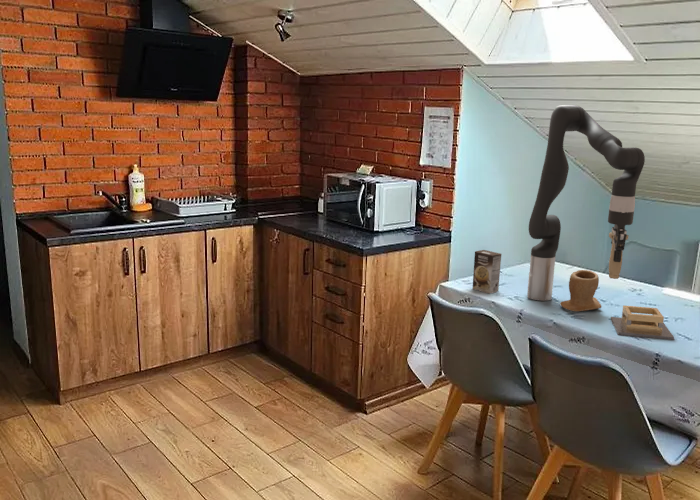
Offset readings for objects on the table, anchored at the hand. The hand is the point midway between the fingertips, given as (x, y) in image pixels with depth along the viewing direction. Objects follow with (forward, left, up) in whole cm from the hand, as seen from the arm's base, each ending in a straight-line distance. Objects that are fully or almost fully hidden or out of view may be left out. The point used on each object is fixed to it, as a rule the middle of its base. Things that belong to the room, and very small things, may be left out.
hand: (615, 259), depth 204 cm
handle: (0, 0, -6) cm, 6 cm away
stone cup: (-6, +20, -25) cm, 32 cm away
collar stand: (+11, +3, -24) cm, 27 cm away
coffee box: (-42, +35, -25) cm, 60 cm away
